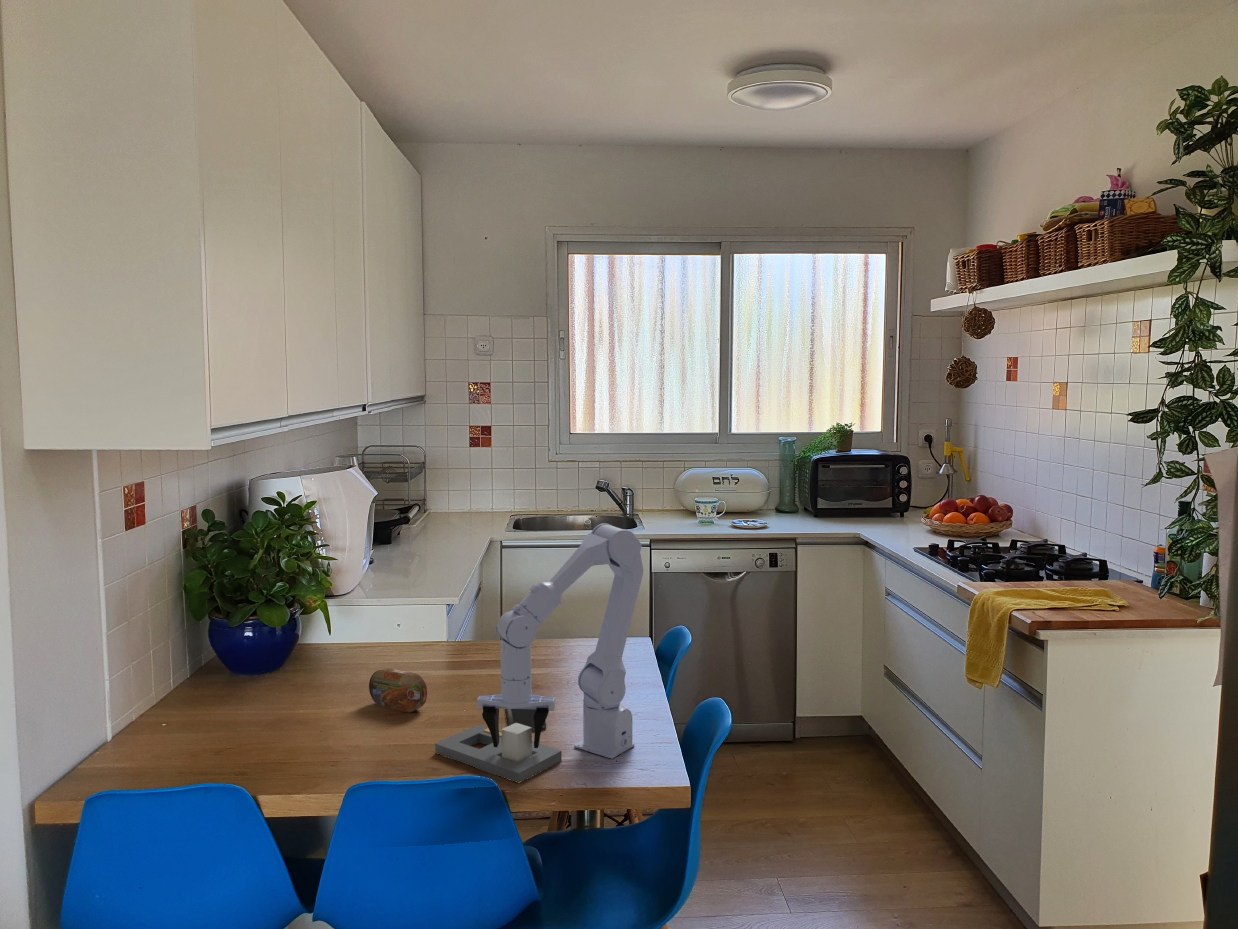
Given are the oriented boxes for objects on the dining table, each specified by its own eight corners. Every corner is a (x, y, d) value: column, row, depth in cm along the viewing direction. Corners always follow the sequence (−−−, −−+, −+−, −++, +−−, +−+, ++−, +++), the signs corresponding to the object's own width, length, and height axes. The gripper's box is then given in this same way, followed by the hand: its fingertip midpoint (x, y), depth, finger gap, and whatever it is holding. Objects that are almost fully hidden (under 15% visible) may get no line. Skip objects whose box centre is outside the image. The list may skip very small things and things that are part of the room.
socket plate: (561, 760, 170) (561, 749, 169) (519, 783, 160) (518, 772, 160) (479, 733, 182) (479, 723, 182) (435, 753, 173) (435, 742, 173)
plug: (531, 763, 169) (531, 727, 168) (517, 770, 166) (517, 734, 165) (516, 757, 171) (516, 722, 170) (502, 765, 168) (501, 729, 167)
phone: (509, 729, 183) (505, 703, 198) (509, 735, 183) (505, 708, 198) (547, 727, 184) (540, 701, 199) (547, 732, 184) (540, 706, 199)
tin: (368, 704, 199) (367, 667, 198) (378, 699, 202) (377, 663, 201) (420, 716, 192) (419, 678, 191) (430, 711, 195) (429, 674, 194)
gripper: (557, 669, 170) (557, 738, 172) (482, 668, 171) (482, 736, 172) (552, 682, 163) (552, 753, 165) (474, 680, 164) (475, 751, 165)
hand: (516, 745), depth 168 cm, fingers open, 7 cm apart
